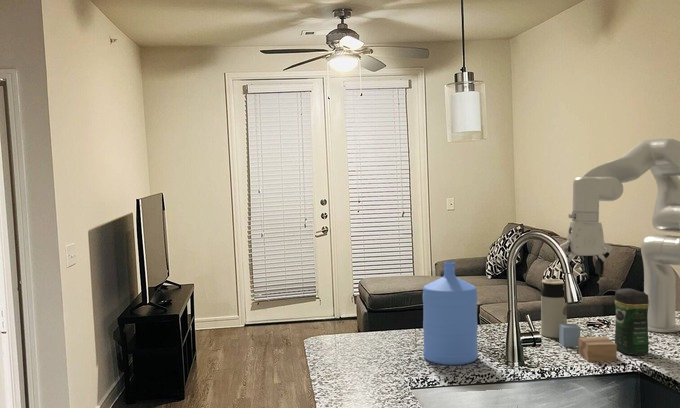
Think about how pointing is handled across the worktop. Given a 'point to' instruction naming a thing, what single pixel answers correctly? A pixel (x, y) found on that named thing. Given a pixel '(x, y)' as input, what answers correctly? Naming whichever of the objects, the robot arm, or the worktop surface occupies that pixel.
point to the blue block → (569, 335)
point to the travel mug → (552, 307)
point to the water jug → (450, 320)
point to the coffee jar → (631, 321)
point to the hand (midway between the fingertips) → (584, 273)
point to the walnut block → (597, 349)
